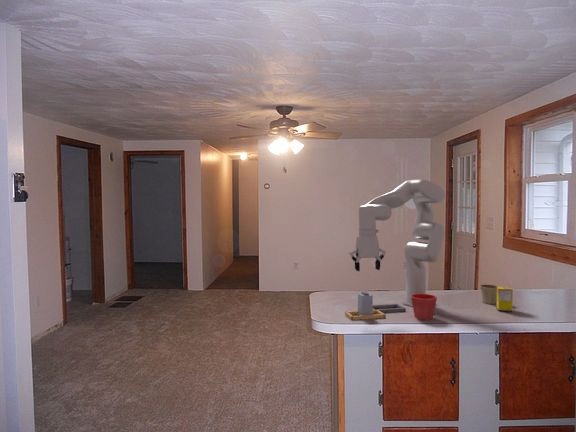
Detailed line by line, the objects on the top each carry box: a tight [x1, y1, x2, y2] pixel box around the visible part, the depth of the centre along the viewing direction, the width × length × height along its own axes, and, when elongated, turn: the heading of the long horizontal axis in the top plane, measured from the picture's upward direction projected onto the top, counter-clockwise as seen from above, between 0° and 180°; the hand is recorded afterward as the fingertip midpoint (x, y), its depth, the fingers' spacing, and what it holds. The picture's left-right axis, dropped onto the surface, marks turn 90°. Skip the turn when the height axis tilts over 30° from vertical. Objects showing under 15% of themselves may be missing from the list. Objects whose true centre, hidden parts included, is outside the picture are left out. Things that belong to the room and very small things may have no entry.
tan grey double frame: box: [344, 303, 407, 321], centre depth 185 cm, size 30×16×2 cm, turn 102°
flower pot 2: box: [478, 283, 498, 305], centre depth 204 cm, size 9×9×9 cm
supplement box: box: [496, 285, 514, 313], centre depth 189 cm, size 6×6×11 cm
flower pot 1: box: [411, 293, 438, 321], centre depth 178 cm, size 11×11×10 cm
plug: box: [357, 291, 374, 316], centre depth 180 cm, size 5×5×11 cm
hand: (367, 270), depth 181 cm, fingers open, 9 cm apart
